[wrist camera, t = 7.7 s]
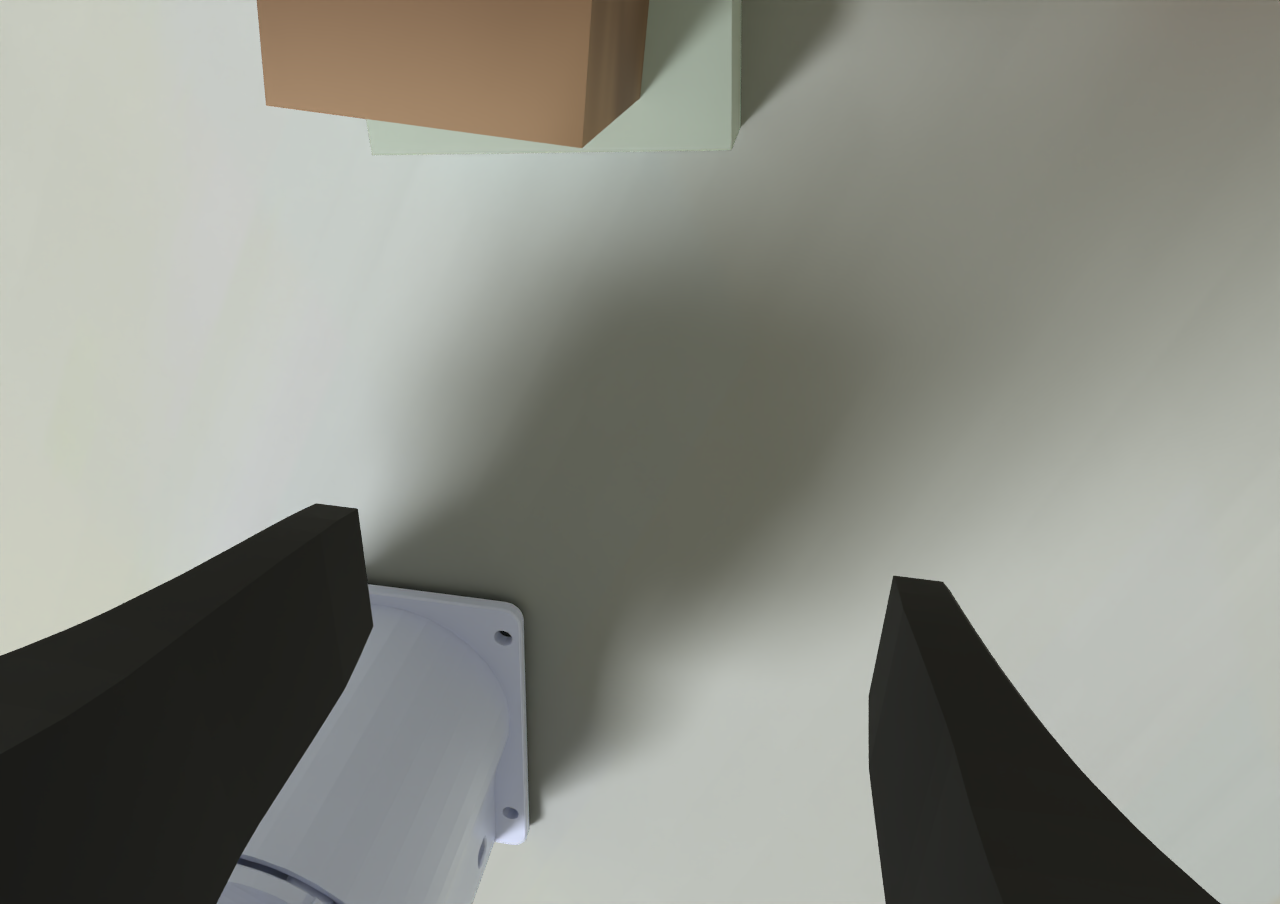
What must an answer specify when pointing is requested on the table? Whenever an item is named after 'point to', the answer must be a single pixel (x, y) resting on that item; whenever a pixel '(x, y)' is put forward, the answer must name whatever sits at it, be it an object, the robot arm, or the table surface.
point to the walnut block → (459, 63)
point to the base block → (669, 101)
